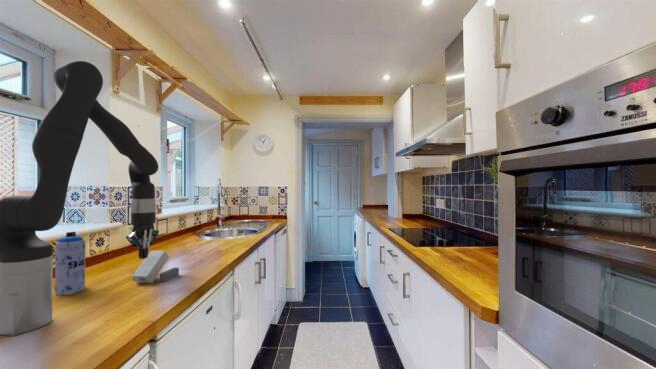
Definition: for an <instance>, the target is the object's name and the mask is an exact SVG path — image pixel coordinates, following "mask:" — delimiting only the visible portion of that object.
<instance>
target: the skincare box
mask: <svg viewBox="0 0 656 369" xmlns="http://www.w3.org/2000/svg"><path fill="white" fill-rule="evenodd" d="M169 259H170V256H169V255H168V252H167V251H166V250H158V249H157V250H150V252H148V257H147V258H145V259H143V261H142V262H141V264H140V265H139V266H138V267H137V268H136V270H135V271H134V272H135V273H134V274H133V273H132V279H133V278H134V279H135V280H136V281H135V282H136V283H142V284H143V283H144V284H145V283H147V284H152V283H154V280H155V279H156V278H157V276H158V275H159V274H160V273H161V271H162V269H163V268H164V266H165V264H166V263H167V261H168V260H169Z"/></svg>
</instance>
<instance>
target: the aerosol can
mask: <svg viewBox="0 0 656 369" xmlns="http://www.w3.org/2000/svg"><path fill="white" fill-rule="evenodd" d="M57 240H58V241H56V243H55V245H54V246H55V252H54V253H55V255H54V257H55V260H54V261H55V262H54V268H55V269H54V270H55V271H54V291H53V292H54V293H53V294H54V295H55V296H66V295H67V296H68V295H72V294H76V293H79V292H83V291H84V290H86V289H85V288H87V287H86V240H85V238H84V237H82V236H80V235H79V234H77V233H76V231H69V232H66V234H65V236H63V237H61V238H59V239H57ZM82 290H83V291H82Z"/></svg>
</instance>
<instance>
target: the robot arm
mask: <svg viewBox="0 0 656 369" xmlns="http://www.w3.org/2000/svg"><path fill="white" fill-rule="evenodd" d="M52 78H53V83H54V84H55V86H56V87H57V88H58V89H59V90H60V92H61V95H60V98H58V100H57V101H56V103H55V104H54V105H53V106H52V107H51V108H50V109H49V111H48V112H47V113H46V114H45V116H44V117H43V119H42V120H41V121H40V123H39V125H38V128H37V130H36V133H35V134H34V138H33V140H32V143H31V149H32V153H33V156H34V159H35V161H36V164H37V166H38V169H39V180H38V183H37V187H36V189H35V191H34V192H33V193H34V194H13V195H8V196H4V197H3V198H1V199H0V336H11V337H14V336H17V335H19V334H23V333H26V332H27V333H28V332H31V331H34V330H37V329H39V328H40V329H41V327H44V326H46V325H48V324H50V323H51V322H52V321H53V294H54V293H53V292H54V291H53V290H54V288H53V285H54V284H53V280H54V279H53V277H54V276H53V275H54V269H53V268H54V247H53V246H54V245H53V244H52V243H50V242H47V241H45V240H43V239H41V238H39V237H38V235H37V233H36V232H45V231H49V230H51V229H54V227H56V226H57V225H58V223H60V220H61V218H62V217H63V213H64V210H65V206H66V199H67V195H68V194H67V193H68V188H69V185H70V184H69V183H70V179H71V176H72V172H73V169H74V165H75V161H76V159H77V155H78V153H79V151H80V148H81V145H82V141H83V139H84V134H85V130H86V128H87V125H88V123H89V122H88V121H89V119H90V120H91V122H93V123H94V125H96V126H97V128H99V130H100V131H101V132H102V133H103V135H104V136H105V137H106V138H107V139H108V140H109V142H110V143H111V144H112V145H113V147H114V148H115V149H116V150H117V152H119V154H121V155H122V156H125V157H127V158H128V159H129V160H130V161H129V164H128V169H127V170H128V175H129V179H130V180H129V181H130V183H131V203H130V204H131V205H130V224H131V225H132V229H131V233H130V235H126V237H125V238H126V239H127V241H128V242H129V244H130V245H131V246H132V248H135V249H137V250H138V258H139V259H140V260H145V258H147V257H148V254H149V248H150V246H152V245H153V244H155V240H156V239H157V237H158V235H159V232H160V230H157V229H156V228H155V226H154V224H156V221H157V219H156V213H157V212H156V210H157V206H156V187H155V184H154V183H152V182H151V177H150V176H153V175H155V174H157V172H158V171H159V162H158V161H157V159H156V157H155V156H154V155H153V154H152V153H151V152H150V151H149V150H148V149H147V148H146V147H144V146H143V145H142V144H141V143H140V141H139V140H138V139H137V136H135V135H134V133H133V132H132V131H131V129H130V128H129V127H128V126H127V124H125V123H124V122H123V121H122V120H121V119H120V118H118V117H116V116H115V115H113V114H112V113H111V112H109V111H108V110H107V109H106V108H105V107H104V106H103V105H102V104H101V103H100V102H99V101H98V99H97V98H98V97H99V94H100V92H101V91H102V88H103V85H104V78H103V76H102V73H101V71H100V70H99V69H98V68H97V66H95V65H94V64H92V63H90V62H88V61H84V60H77V61H71V62H70V63H67V64H65V65H63V66H61V67H58V68H57V69H56V70H54V73H53V76H52Z"/></svg>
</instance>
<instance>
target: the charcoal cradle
mask: <svg viewBox="0 0 656 369" xmlns="http://www.w3.org/2000/svg"><path fill="white" fill-rule="evenodd" d="M134 273H135V271H133V272H132V275H133V274H134ZM179 273H180V268H179V267H173V268H170V269H167V270H165V271H162V272H159V283H165V282H168V281H170V280H171V279H173V278H176V277H178V276H179V275H180V274H179ZM132 281H135V282H136V280H135V279H134V278H133V277H132Z"/></svg>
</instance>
